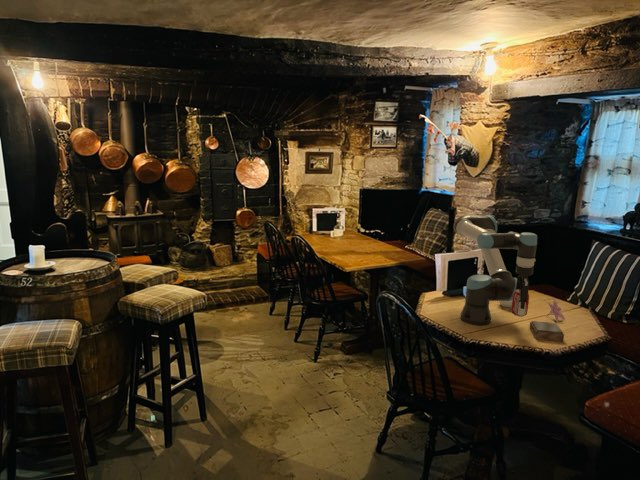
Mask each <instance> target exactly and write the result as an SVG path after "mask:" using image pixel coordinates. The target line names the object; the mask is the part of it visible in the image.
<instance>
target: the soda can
mask: <svg viewBox="0 0 640 480" xmlns="http://www.w3.org/2000/svg"><path fill="white" fill-rule="evenodd" d="M520 291H521V289H516V290H515V292H514V294H513V301H512V307H511V313H512V315H513V316H516V317H523V318H524V317H525V316H527V315H528V311H529V305H530V304H529V303H530V302H529V301H530V294H529V293H528V300H527V302H526V305H525V313H524V315H518V308H519V301H520Z"/></svg>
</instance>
